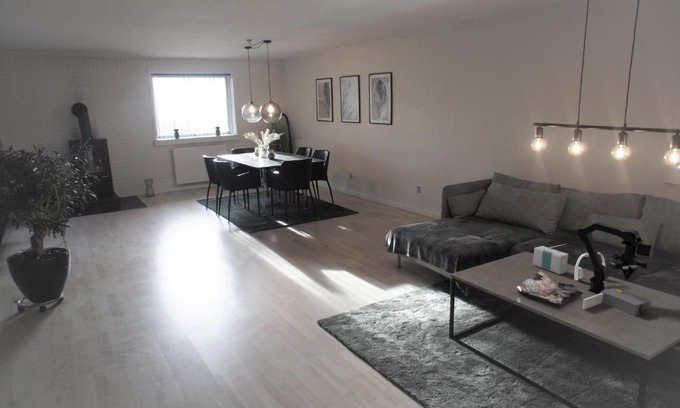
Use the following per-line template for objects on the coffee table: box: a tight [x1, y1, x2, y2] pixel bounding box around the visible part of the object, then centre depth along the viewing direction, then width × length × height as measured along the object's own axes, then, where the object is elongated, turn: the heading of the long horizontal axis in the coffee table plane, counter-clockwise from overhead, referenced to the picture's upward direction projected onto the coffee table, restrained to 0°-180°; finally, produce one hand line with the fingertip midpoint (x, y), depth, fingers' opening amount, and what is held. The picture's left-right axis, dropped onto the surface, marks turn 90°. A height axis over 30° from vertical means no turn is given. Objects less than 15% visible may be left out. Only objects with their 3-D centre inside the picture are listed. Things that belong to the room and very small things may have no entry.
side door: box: [582, 293, 604, 310], centre depth 252 cm, size 17×2×6 cm, turn 119°
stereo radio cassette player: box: [532, 243, 569, 275], centre depth 304 cm, size 21×8×20 cm, turn 28°
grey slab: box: [601, 287, 652, 317], centre depth 250 cm, size 21×12×7 cm, turn 23°
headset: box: [573, 251, 607, 281], centre depth 287 cm, size 20×7×18 cm, turn 101°
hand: (626, 279), depth 257 cm, fingers closed
